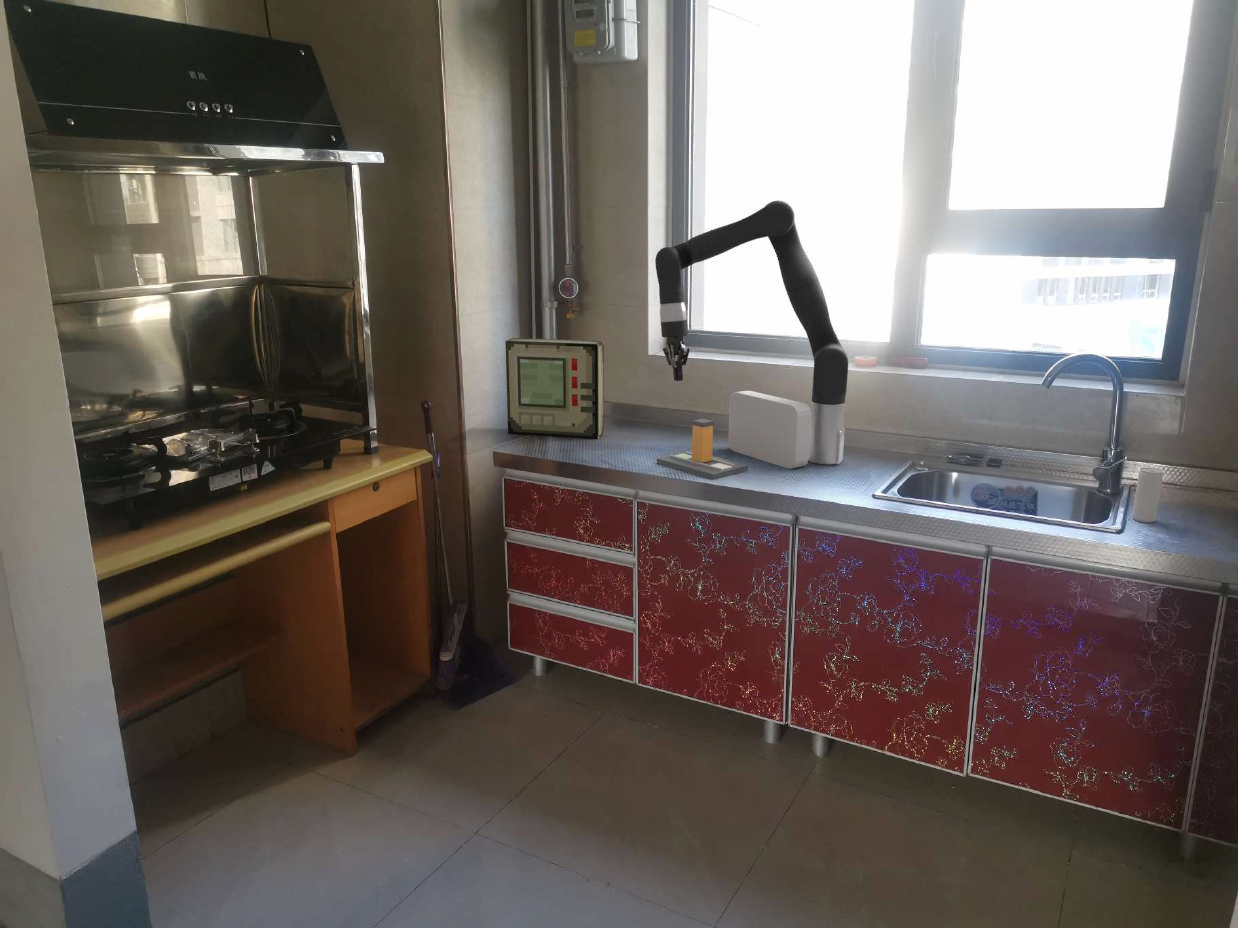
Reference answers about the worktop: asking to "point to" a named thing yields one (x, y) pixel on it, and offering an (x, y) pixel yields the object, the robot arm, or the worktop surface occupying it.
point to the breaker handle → (702, 440)
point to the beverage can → (1147, 494)
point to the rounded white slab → (769, 428)
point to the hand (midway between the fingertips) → (678, 380)
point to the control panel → (555, 387)
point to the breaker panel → (702, 465)
